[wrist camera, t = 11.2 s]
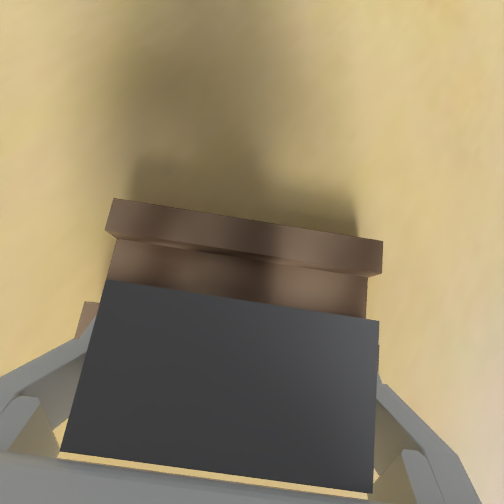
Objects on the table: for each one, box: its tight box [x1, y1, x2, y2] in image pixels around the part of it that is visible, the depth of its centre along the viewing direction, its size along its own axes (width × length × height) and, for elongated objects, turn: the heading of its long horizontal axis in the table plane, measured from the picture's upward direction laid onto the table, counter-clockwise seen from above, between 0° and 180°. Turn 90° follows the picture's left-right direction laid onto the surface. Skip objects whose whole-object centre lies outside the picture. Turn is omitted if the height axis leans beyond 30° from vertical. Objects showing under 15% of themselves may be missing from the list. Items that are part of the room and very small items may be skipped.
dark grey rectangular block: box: [60, 279, 379, 494], centre depth 10 cm, size 3×6×10 cm, turn 82°
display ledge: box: [74, 198, 383, 371], centre depth 19 cm, size 18×9×4 cm, turn 82°
